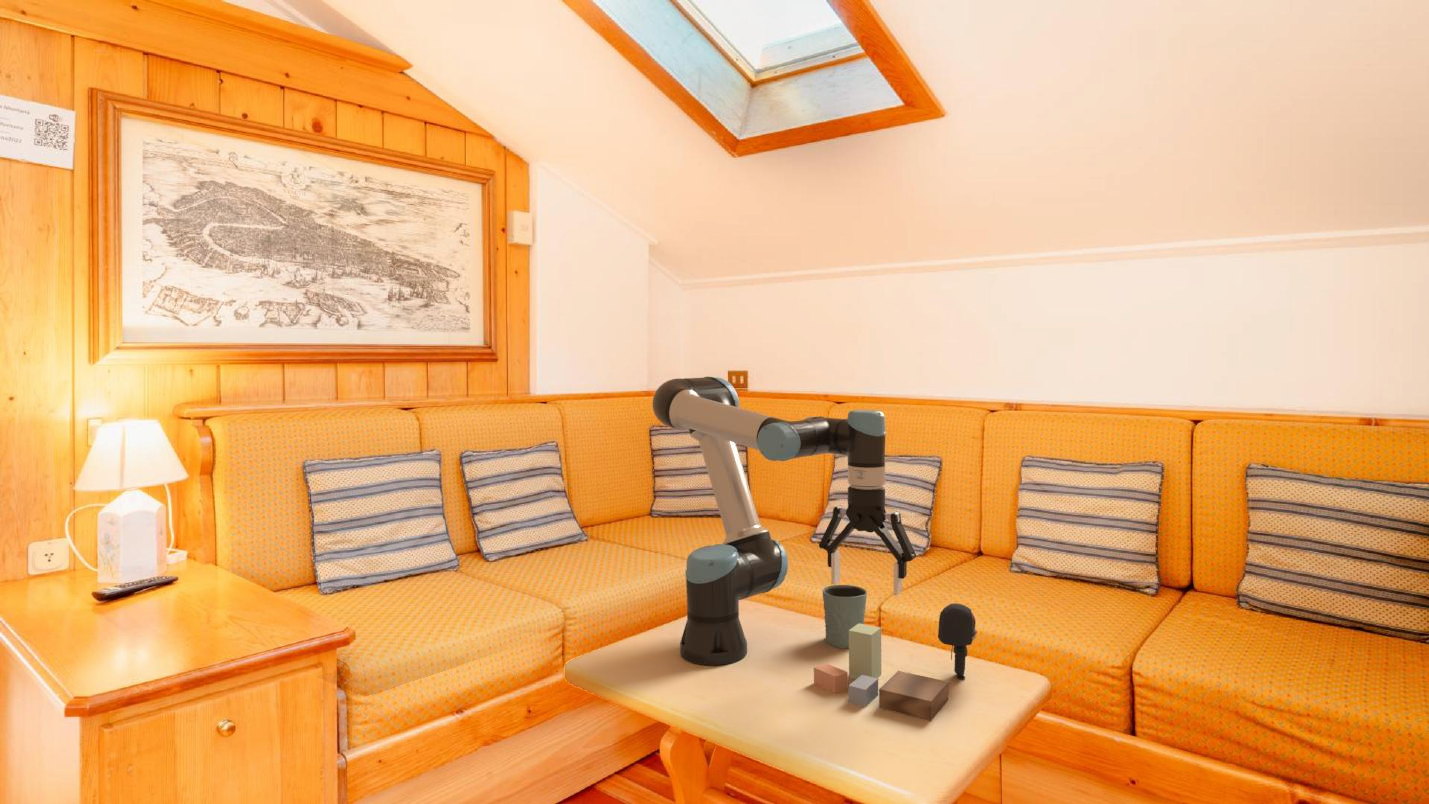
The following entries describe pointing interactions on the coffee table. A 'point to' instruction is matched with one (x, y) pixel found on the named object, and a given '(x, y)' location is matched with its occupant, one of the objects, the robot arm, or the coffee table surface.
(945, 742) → the coffee table surface
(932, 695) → the brick walnut
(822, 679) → the brick terracotta
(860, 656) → the brick sage
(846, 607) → the grey green cup
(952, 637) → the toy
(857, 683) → the brick slate
